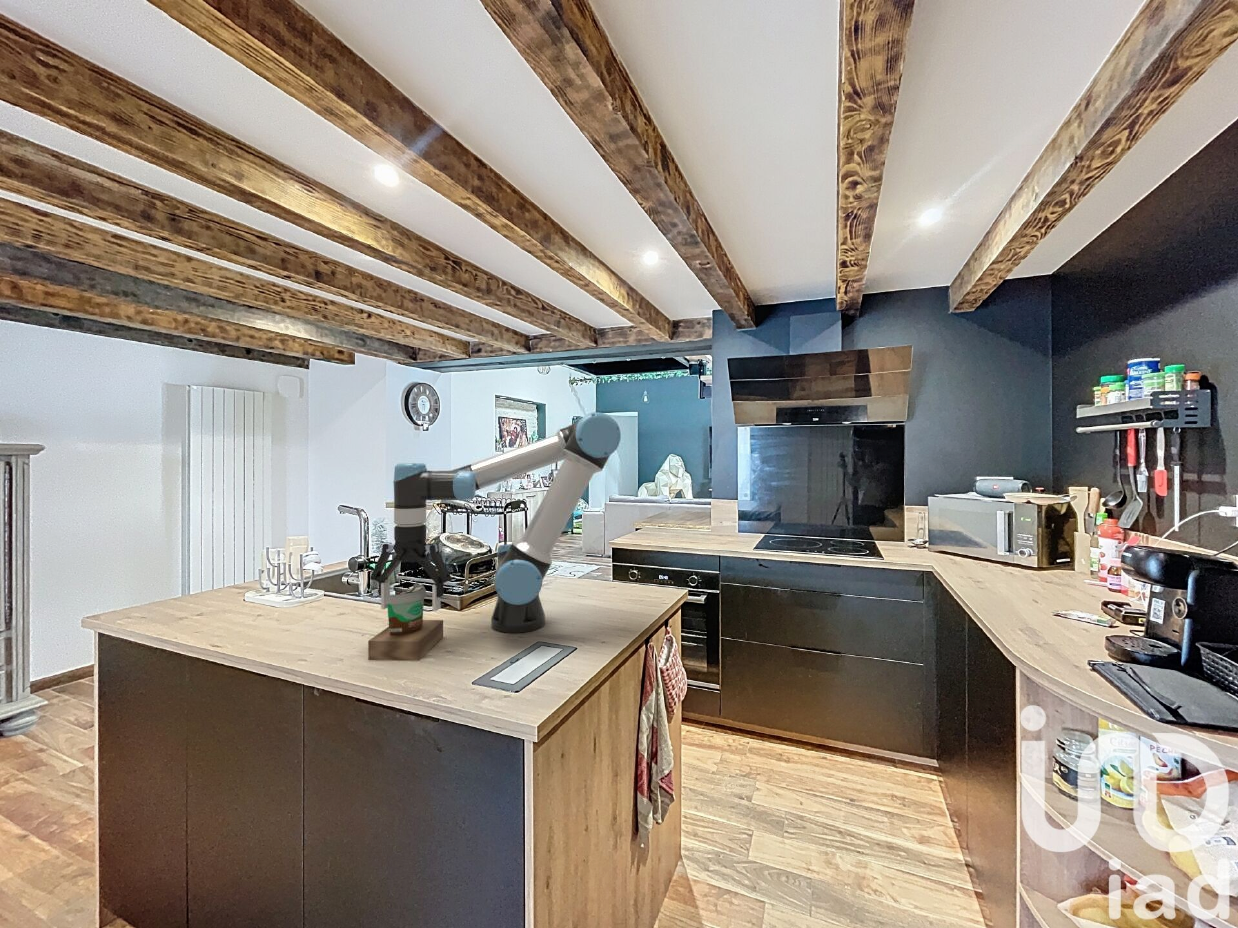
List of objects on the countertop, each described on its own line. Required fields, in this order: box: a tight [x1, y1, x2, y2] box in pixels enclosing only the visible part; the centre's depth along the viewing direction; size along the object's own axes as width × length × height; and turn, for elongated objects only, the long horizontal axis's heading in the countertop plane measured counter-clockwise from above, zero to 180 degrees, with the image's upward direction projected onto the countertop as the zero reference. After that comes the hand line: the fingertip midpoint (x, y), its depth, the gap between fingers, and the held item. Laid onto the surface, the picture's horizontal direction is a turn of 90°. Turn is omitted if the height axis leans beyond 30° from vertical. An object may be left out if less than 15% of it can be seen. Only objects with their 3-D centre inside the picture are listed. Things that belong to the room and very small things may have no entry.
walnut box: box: [367, 619, 444, 661], centre depth 132 cm, size 12×16×5 cm
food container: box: [385, 583, 428, 635], centre depth 132 cm, size 12×6×10 cm, turn 168°
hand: (410, 608), depth 132 cm, fingers open, 13 cm apart
